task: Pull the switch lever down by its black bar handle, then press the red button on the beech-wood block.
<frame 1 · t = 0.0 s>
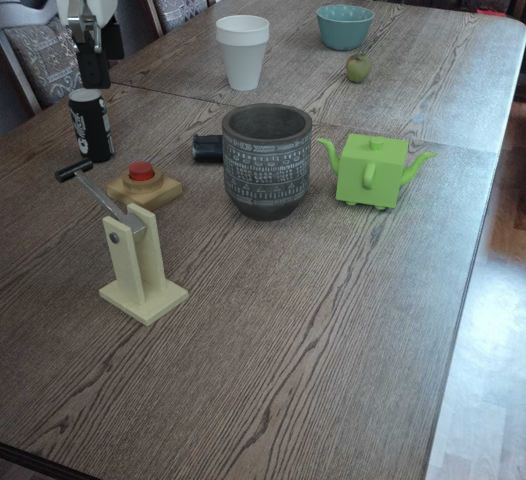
hand: (105, 72, 68), 26 cm above the table, tool pointing down, fingers open, 9 cm apart
smartphone: (266, 121, 120), on the table
planter: (266, 207, 96), on the table
switch bracket: (144, 297, 79), on the table
cup: (243, 86, 134), on the table
apple: (356, 80, 137), on the table
switch lever: (103, 200, 71), point 14 cm above the table, hinge at 25.0°
bowl: (342, 46, 155), on the table
electronic device: (231, 156, 109), on the table
button: (141, 171, 95), point 4 cm above the table, slide at 0.1 cm
button block: (145, 195, 98), on the table
teapot: (367, 197, 98), on the table
beverage can: (99, 157, 108), on the table
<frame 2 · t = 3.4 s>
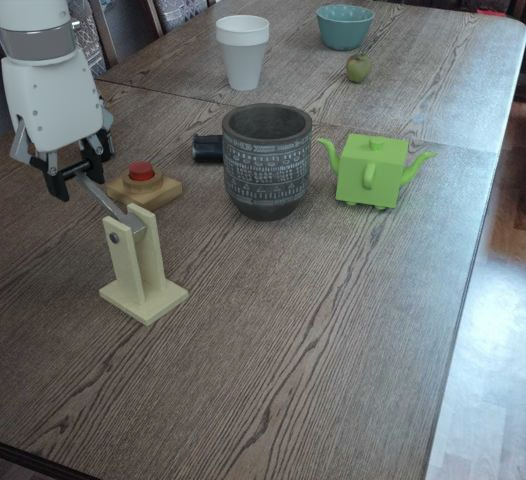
hand: (78, 188, 73), 14 cm above the table, tool pointing down, fingers closed on switch lever, 5 cm apart
switch lever: (103, 200, 71), point 14 cm above the table, hinge at 25.0°, touching gripper
everything else where it was.
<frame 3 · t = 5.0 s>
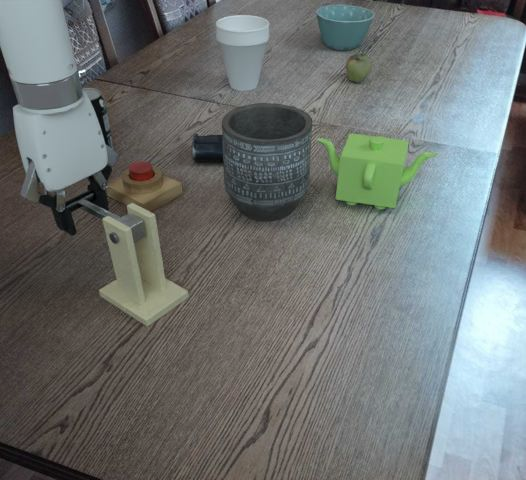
hand: (85, 221, 78), 8 cm above the table, tool pointing down, fingers closed on switch lever, 5 cm apart
switch lever: (105, 215, 73), point 11 cm above the table, hinge at -1.9°, touching gripper
everything else where it was.
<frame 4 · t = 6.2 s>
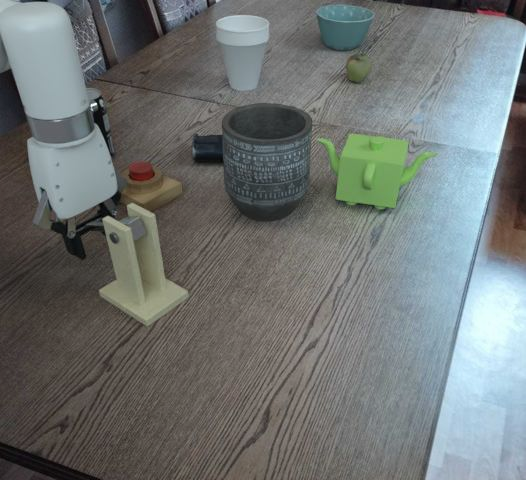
hand: (94, 245, 80), 4 cm above the table, tool pointing down, fingers open, 5 cm apart
switch lever: (109, 227, 74), point 10 cm above the table, hinge at -20.9°
everything else where it was.
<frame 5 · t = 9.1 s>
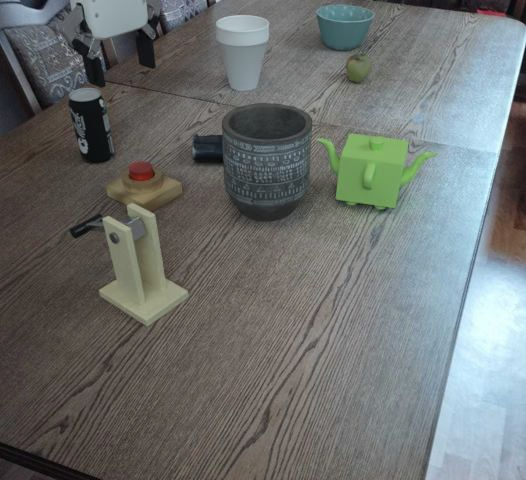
hand: (123, 75, 83), 21 cm above the table, tool pointing down, fingers open, 9 cm apart
nothing on the table moved.
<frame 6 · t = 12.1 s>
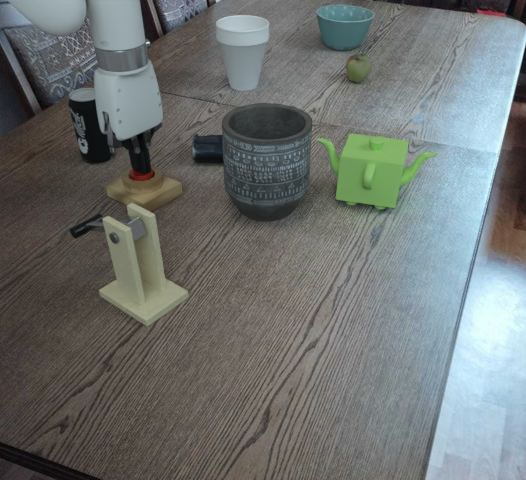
hand: (142, 170, 95), 5 cm above the table, tool pointing down, fingers closed
button: (141, 175, 95), point 4 cm above the table, slide at -0.6 cm, touching gripper
everything else where it was.
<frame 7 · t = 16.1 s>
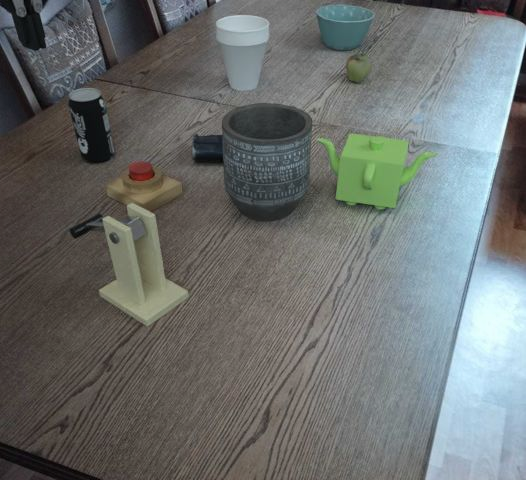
hand: (34, 47, 72), 27 cm above the table, tool pointing down, fingers closed
button: (141, 171, 95), point 4 cm above the table, slide at 0.1 cm
everything else where it was.
at the end: switch lever at -21° (first picture: +25°); button pushed in 1.1 cm at the most during the clip, back to where it started at the end; button slide at 0.1 cm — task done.
